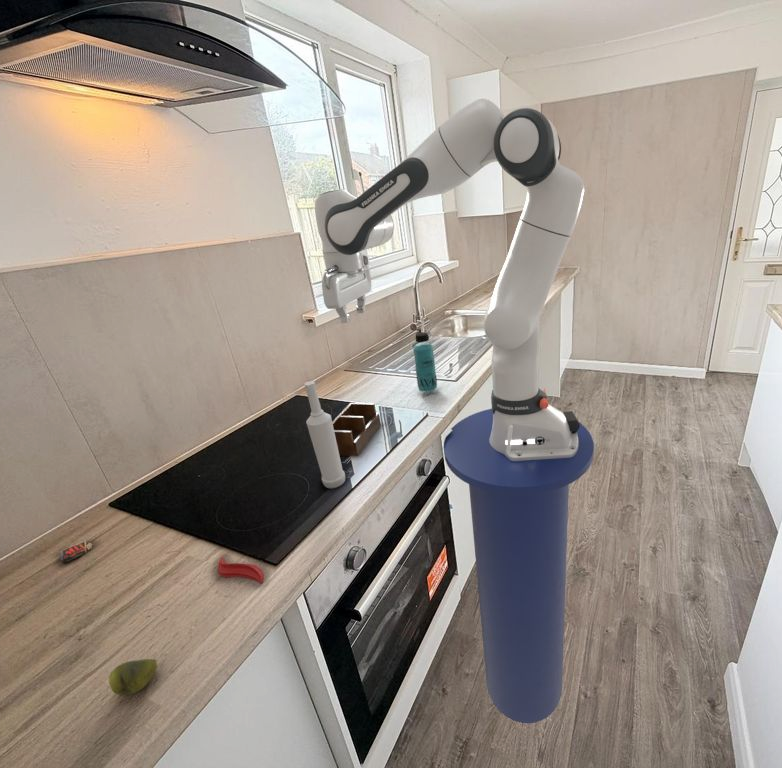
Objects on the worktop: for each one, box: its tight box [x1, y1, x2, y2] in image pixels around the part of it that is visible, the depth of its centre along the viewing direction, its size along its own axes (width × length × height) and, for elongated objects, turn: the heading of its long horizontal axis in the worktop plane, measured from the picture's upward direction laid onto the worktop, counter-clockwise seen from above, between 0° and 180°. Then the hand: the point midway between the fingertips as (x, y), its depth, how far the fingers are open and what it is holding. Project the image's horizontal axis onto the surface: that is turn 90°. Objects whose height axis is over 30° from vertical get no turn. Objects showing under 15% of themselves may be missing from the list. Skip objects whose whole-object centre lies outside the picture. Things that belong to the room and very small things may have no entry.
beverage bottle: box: [413, 332, 438, 393], centre depth 132 cm, size 6×7×20 cm
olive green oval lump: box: [108, 658, 158, 697], centre depth 55 cm, size 4×5×5 cm
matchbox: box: [60, 540, 93, 563], centre depth 80 cm, size 5×5×1 cm
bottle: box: [303, 380, 346, 489], centre depth 90 cm, size 5×5×25 cm
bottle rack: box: [332, 402, 382, 457], centre depth 110 cm, size 8×16×7 cm, turn 169°
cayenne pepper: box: [217, 556, 265, 585], centre depth 73 cm, size 12×5×2 cm, turn 54°
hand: (354, 317), depth 108 cm, fingers open, 8 cm apart
